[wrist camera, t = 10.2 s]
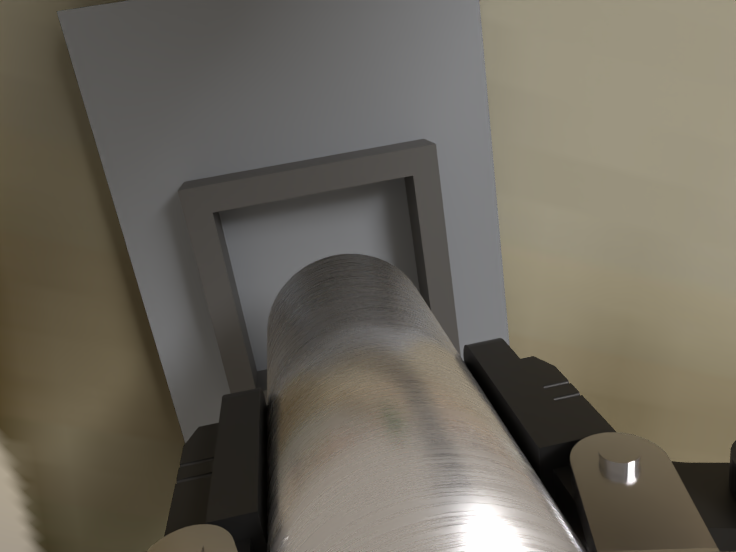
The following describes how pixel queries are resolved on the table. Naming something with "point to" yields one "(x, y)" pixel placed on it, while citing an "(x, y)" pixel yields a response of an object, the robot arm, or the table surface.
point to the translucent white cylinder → (387, 428)
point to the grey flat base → (289, 164)
